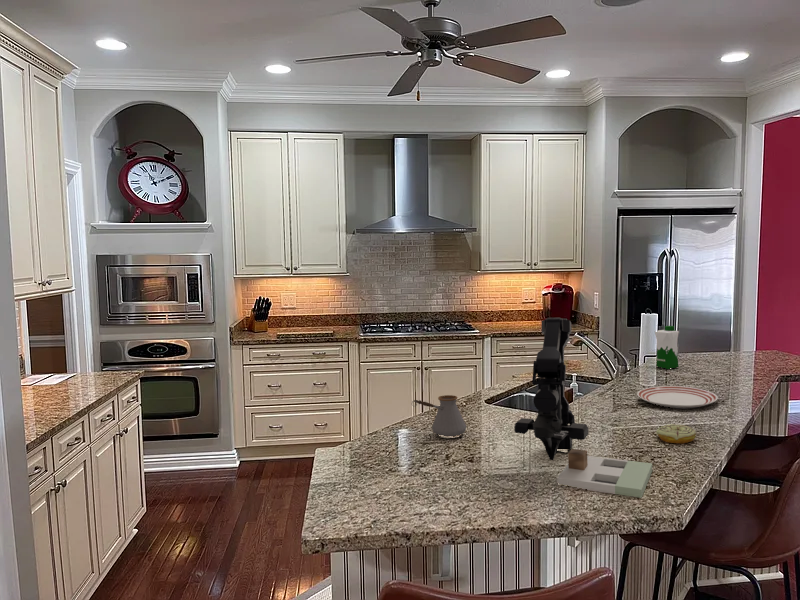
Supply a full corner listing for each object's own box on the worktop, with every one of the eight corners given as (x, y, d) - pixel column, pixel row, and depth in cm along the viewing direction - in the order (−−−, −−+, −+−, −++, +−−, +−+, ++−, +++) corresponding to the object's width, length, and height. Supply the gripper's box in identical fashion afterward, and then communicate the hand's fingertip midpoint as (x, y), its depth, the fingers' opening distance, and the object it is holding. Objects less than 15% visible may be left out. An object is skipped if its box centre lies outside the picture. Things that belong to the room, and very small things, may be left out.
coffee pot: (448, 428, 204) (446, 385, 203) (474, 434, 196) (472, 390, 195) (403, 443, 190) (400, 397, 189) (428, 451, 181) (426, 403, 180)
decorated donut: (649, 438, 183) (649, 426, 183) (672, 432, 188) (672, 420, 188) (679, 447, 174) (679, 434, 173) (702, 440, 179) (702, 428, 179)
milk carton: (681, 368, 282) (680, 326, 281) (668, 370, 279) (667, 328, 277) (666, 365, 290) (665, 325, 289) (652, 367, 287) (652, 326, 285)
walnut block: (568, 468, 156) (568, 453, 155) (572, 463, 159) (571, 448, 159) (584, 470, 154) (583, 455, 153) (587, 465, 157) (587, 450, 157)
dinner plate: (728, 412, 206) (728, 403, 206) (645, 412, 212) (645, 403, 212) (704, 393, 233) (704, 385, 233) (631, 394, 239) (631, 386, 239)
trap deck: (557, 485, 150) (557, 477, 150) (575, 461, 166) (575, 454, 166) (641, 497, 140) (641, 489, 140) (652, 470, 156) (652, 463, 156)
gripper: (506, 407, 157) (508, 464, 158) (577, 413, 147) (579, 474, 148) (520, 397, 166) (522, 452, 167) (588, 402, 157) (589, 460, 158)
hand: (551, 459), depth 160 cm, fingers closed
